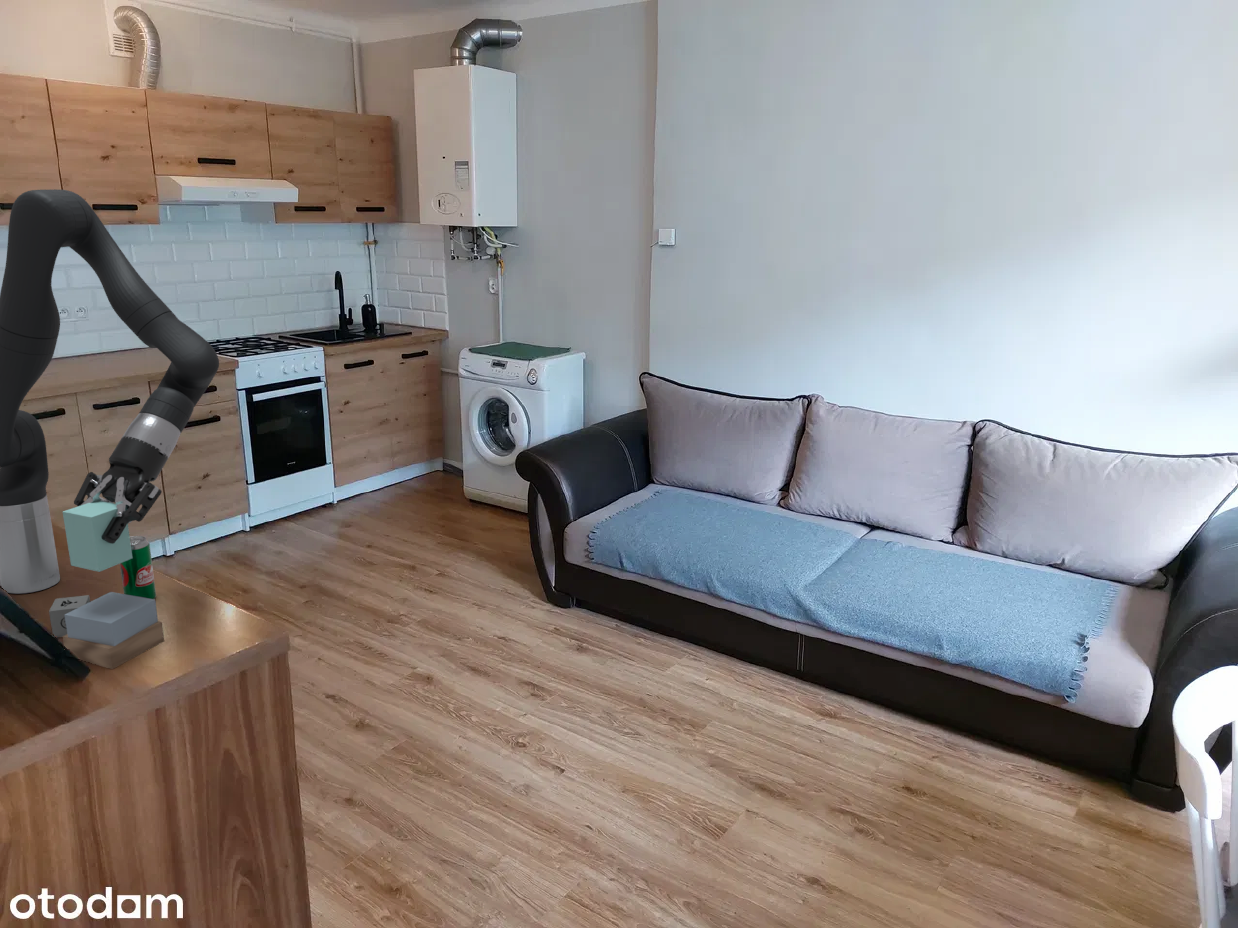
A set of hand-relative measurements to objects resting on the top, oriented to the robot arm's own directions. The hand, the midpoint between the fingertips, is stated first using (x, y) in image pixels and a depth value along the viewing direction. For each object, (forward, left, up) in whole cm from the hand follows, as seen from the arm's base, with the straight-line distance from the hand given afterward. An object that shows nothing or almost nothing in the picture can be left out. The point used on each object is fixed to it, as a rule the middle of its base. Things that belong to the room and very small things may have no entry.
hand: (91, 537), depth 134 cm
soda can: (-11, +16, -20) cm, 28 cm away
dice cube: (-12, +3, -20) cm, 24 cm away
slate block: (0, +1, -16) cm, 17 cm away
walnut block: (0, +1, -20) cm, 21 cm away
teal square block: (0, +1, -5) cm, 5 cm away
